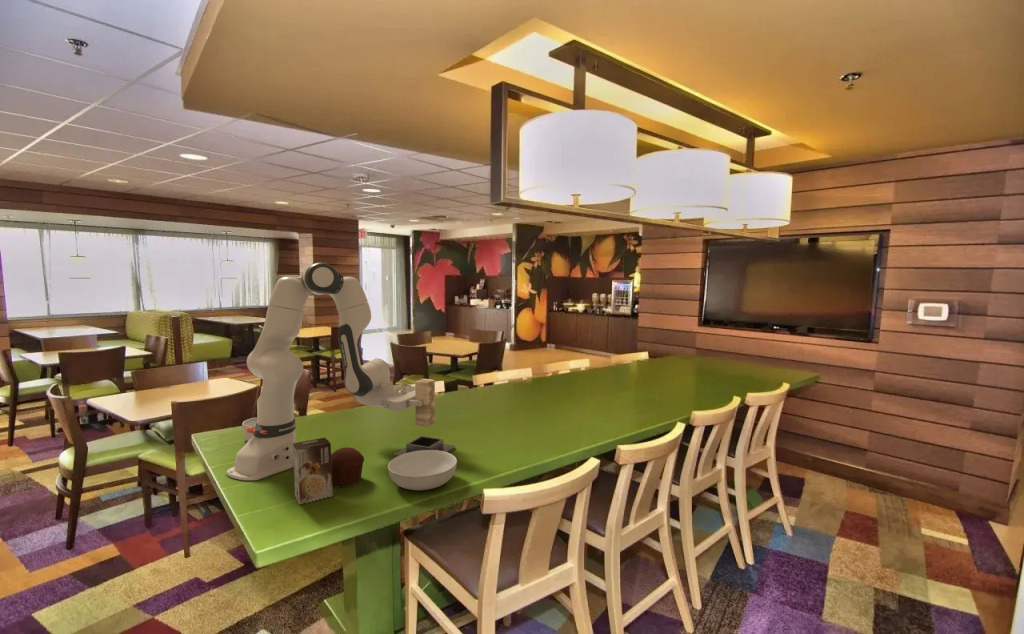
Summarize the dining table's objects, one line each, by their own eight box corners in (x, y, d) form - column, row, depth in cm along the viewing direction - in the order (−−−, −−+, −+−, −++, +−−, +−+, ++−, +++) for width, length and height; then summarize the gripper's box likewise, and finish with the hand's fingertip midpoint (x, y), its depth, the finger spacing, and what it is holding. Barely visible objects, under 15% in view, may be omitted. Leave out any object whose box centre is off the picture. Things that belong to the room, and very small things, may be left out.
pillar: (427, 426, 164) (427, 382, 162) (415, 425, 166) (415, 381, 164) (435, 422, 168) (434, 379, 167) (423, 421, 170) (422, 378, 169)
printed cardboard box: (327, 488, 138) (326, 436, 137) (333, 497, 133) (332, 442, 132) (294, 496, 133) (292, 442, 131) (298, 505, 127) (297, 449, 126)
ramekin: (287, 436, 183) (287, 419, 183) (255, 446, 172) (254, 428, 171) (268, 430, 190) (267, 414, 189) (235, 439, 179) (234, 422, 178)
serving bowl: (426, 464, 157) (426, 444, 157) (470, 481, 144) (470, 460, 143) (374, 484, 141) (373, 463, 141) (418, 506, 128) (417, 482, 127)
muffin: (365, 486, 140) (365, 454, 139) (326, 491, 136) (325, 459, 135) (363, 471, 151) (362, 441, 150) (326, 475, 147) (326, 445, 146)
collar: (432, 463, 157) (432, 452, 157) (393, 456, 163) (393, 445, 163) (455, 448, 172) (455, 437, 172) (418, 442, 178) (418, 432, 178)
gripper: (377, 395, 161) (410, 399, 156) (410, 383, 180) (441, 386, 175) (377, 413, 162) (411, 417, 157) (410, 398, 181) (441, 402, 176)
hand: (427, 401), depth 166 cm, fingers closed on pillar, 5 cm apart
